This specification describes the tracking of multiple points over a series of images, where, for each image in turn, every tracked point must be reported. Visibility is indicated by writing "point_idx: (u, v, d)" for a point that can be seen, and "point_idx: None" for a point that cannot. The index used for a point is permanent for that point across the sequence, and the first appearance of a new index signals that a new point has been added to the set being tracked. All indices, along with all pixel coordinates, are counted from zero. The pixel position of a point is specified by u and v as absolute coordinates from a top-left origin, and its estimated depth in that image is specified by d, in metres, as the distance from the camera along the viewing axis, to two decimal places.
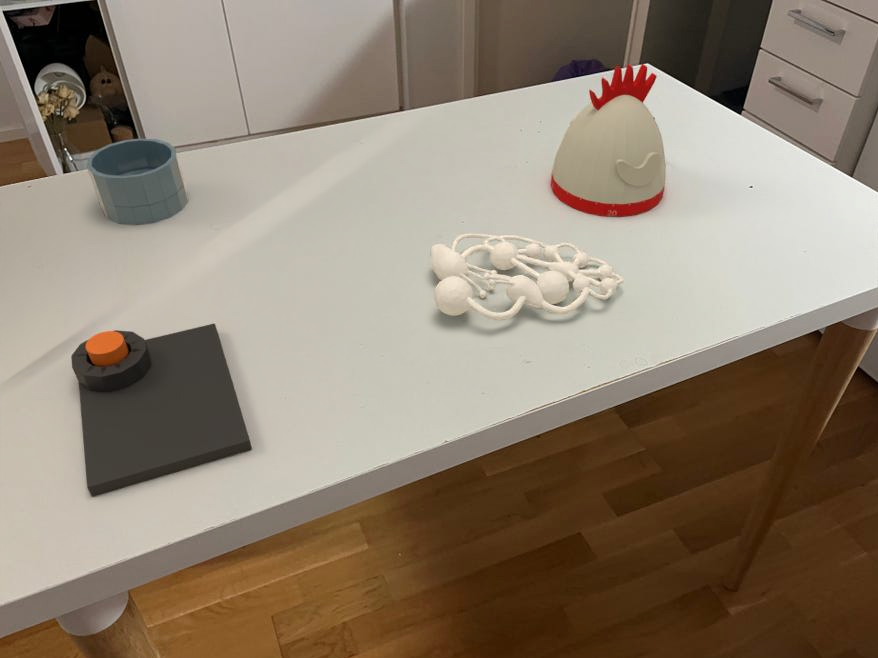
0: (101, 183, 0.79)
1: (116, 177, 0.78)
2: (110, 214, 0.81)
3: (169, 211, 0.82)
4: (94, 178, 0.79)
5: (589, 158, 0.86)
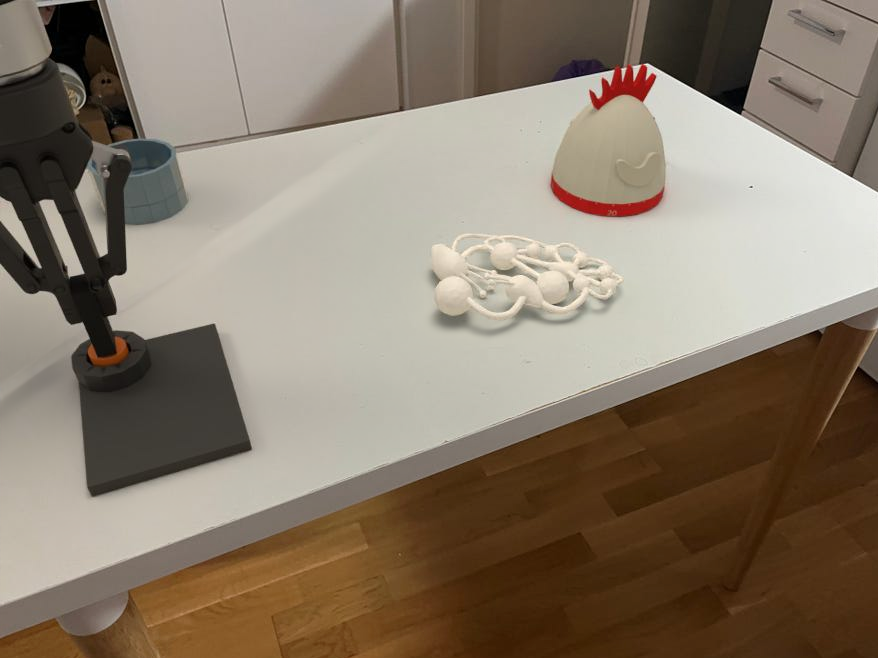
0: (101, 183, 0.79)
1: None
2: None
3: (169, 211, 0.82)
4: (94, 178, 0.79)
5: (589, 158, 0.86)
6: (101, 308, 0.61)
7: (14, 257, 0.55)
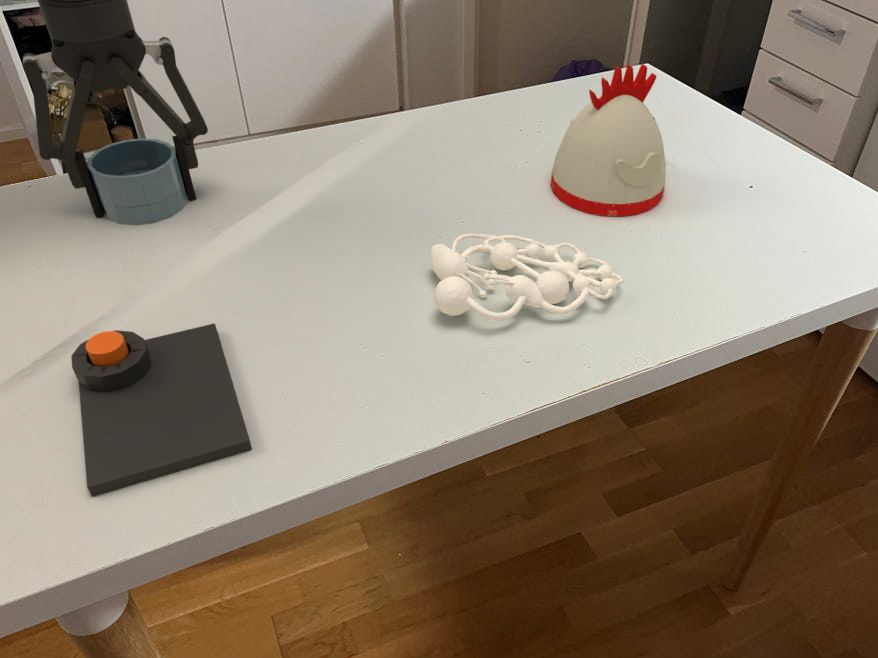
0: (101, 183, 0.79)
1: (116, 177, 0.78)
2: (110, 214, 0.81)
3: (169, 211, 0.82)
4: (94, 178, 0.79)
5: (589, 158, 0.86)
6: (187, 161, 0.83)
7: (49, 128, 0.75)
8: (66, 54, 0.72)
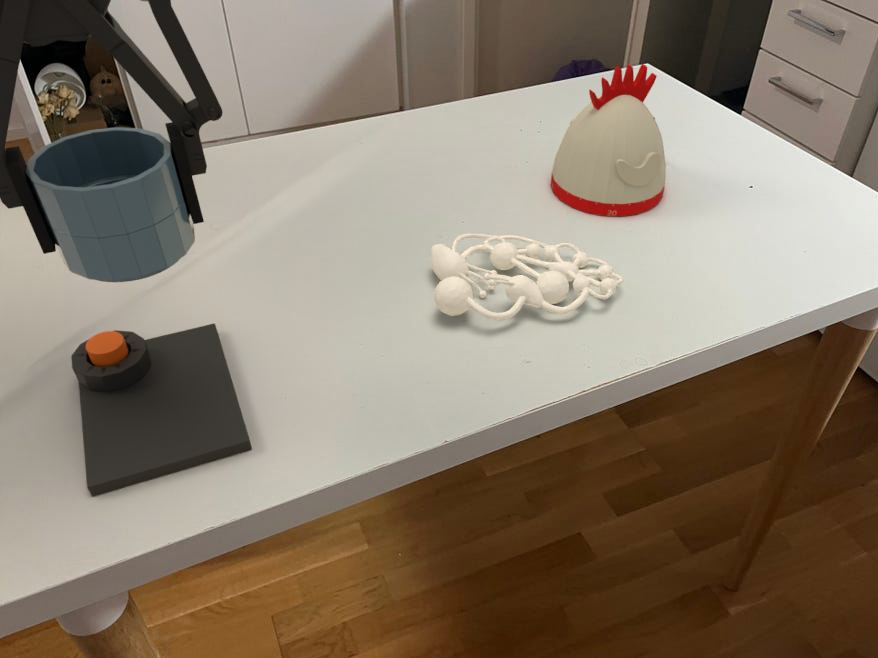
0: (48, 199, 0.48)
1: (72, 190, 0.47)
2: (66, 249, 0.51)
3: (161, 242, 0.52)
4: (37, 191, 0.48)
5: (589, 158, 0.86)
6: (189, 163, 0.52)
7: None
8: None
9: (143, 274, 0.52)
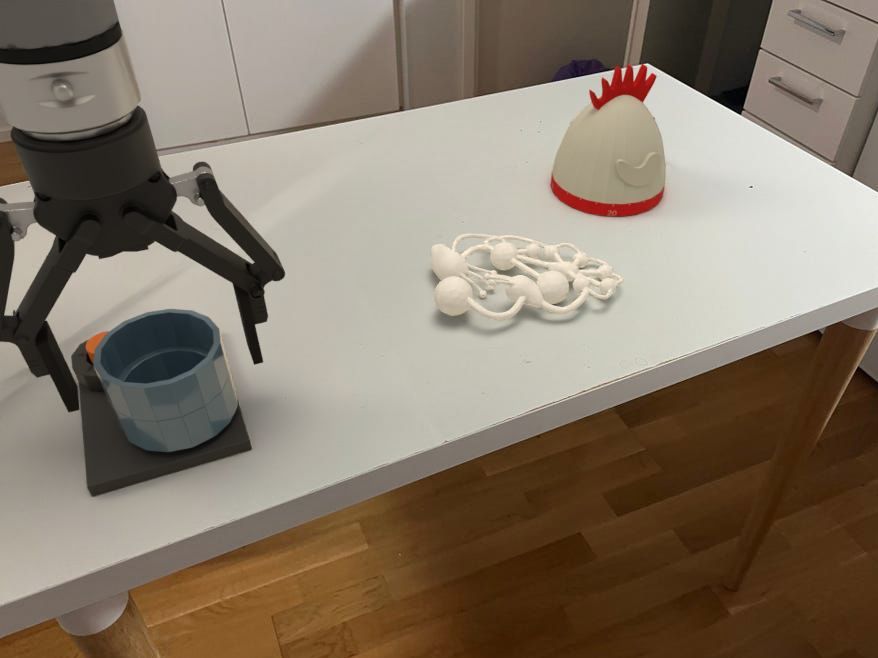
0: (114, 391, 0.54)
1: (136, 386, 0.53)
2: (127, 426, 0.57)
3: (210, 418, 0.58)
4: (104, 384, 0.54)
5: (589, 158, 0.86)
6: (253, 315, 0.58)
7: (3, 306, 0.49)
8: (56, 211, 0.47)
9: (194, 445, 0.58)
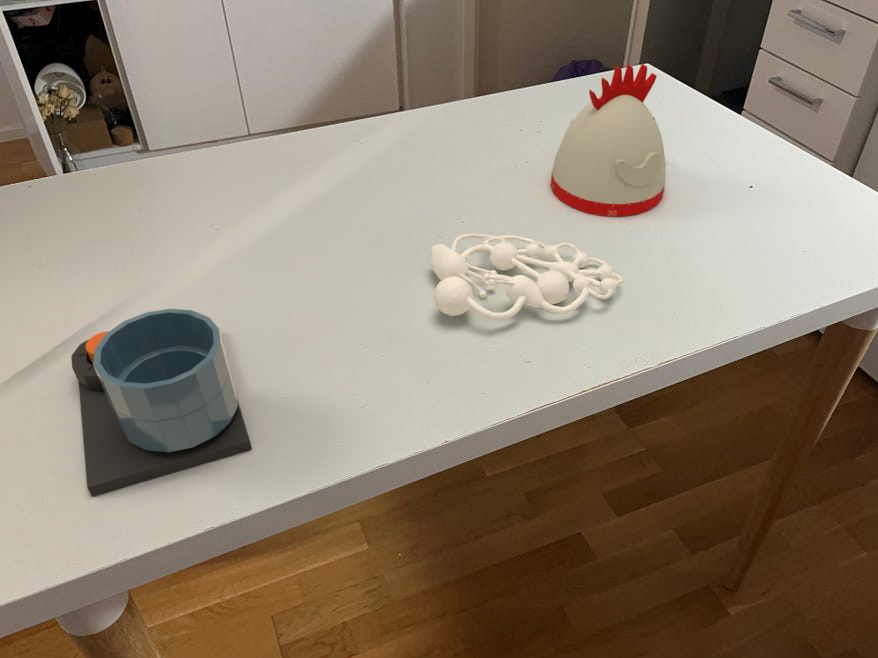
0: (114, 391, 0.54)
1: (136, 386, 0.53)
2: (127, 426, 0.57)
3: (210, 418, 0.58)
4: (104, 384, 0.54)
5: (589, 158, 0.86)
6: None
7: None
8: None
9: (194, 445, 0.58)
